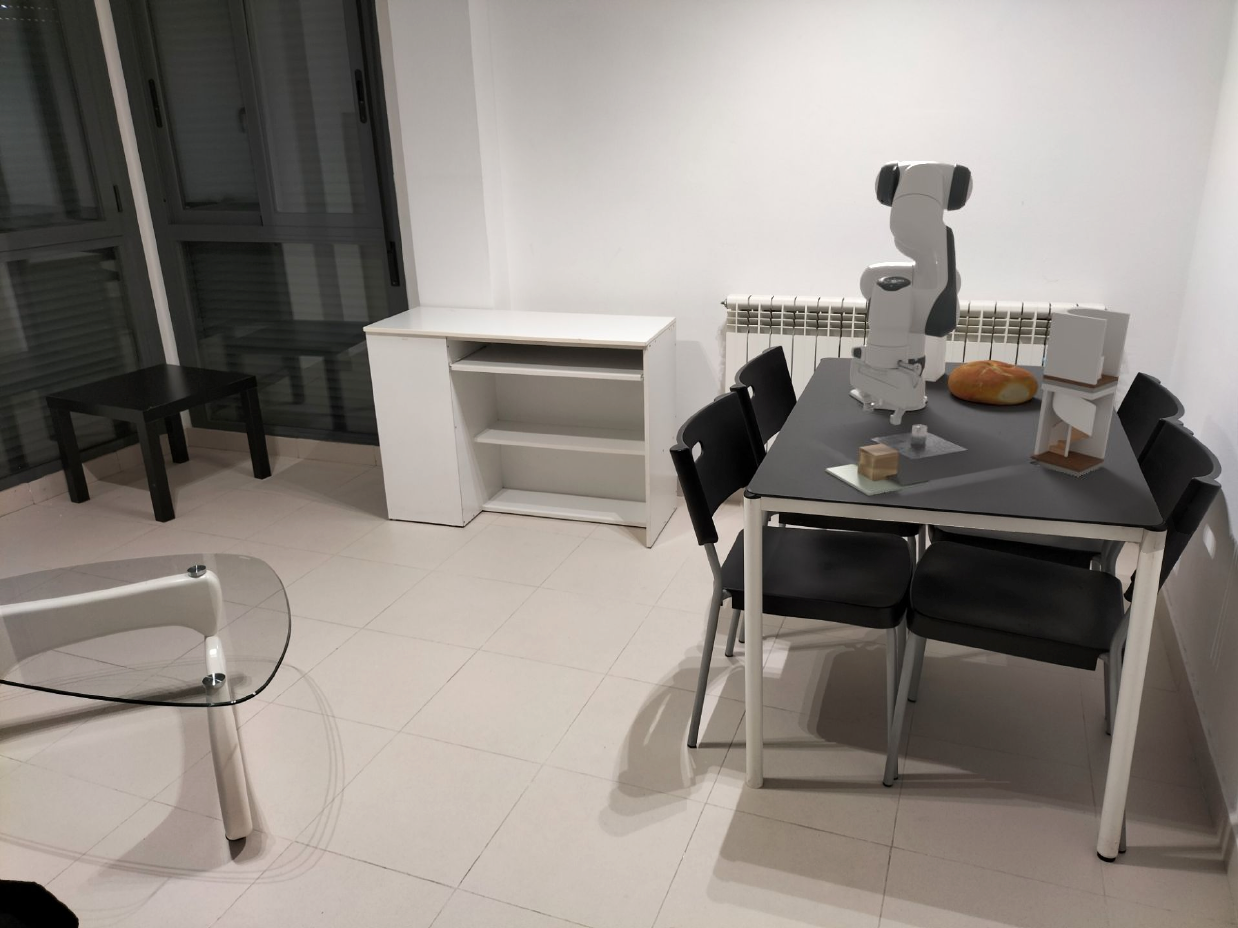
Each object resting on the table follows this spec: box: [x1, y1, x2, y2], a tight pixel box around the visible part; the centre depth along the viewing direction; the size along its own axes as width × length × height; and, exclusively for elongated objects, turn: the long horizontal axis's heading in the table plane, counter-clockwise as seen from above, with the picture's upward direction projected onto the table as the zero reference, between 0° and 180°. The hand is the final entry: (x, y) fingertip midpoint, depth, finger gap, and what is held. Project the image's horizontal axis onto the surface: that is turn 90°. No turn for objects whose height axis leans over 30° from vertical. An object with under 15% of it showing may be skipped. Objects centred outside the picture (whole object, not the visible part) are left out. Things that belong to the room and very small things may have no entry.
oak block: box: [857, 443, 900, 481], centre depth 203 cm, size 6×6×6 cm
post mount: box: [870, 423, 968, 460], centre depth 220 cm, size 16×16×6 cm
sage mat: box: [825, 462, 931, 497], centre depth 205 cm, size 16×16×1 cm
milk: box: [923, 334, 948, 383], centre depth 281 cm, size 12×12×26 cm
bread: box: [947, 359, 1039, 406], centre depth 261 cm, size 23×23×10 cm
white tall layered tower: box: [1029, 305, 1131, 477], centre depth 204 cm, size 11×11×35 cm
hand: (881, 417), depth 200 cm, fingers open, 8 cm apart
